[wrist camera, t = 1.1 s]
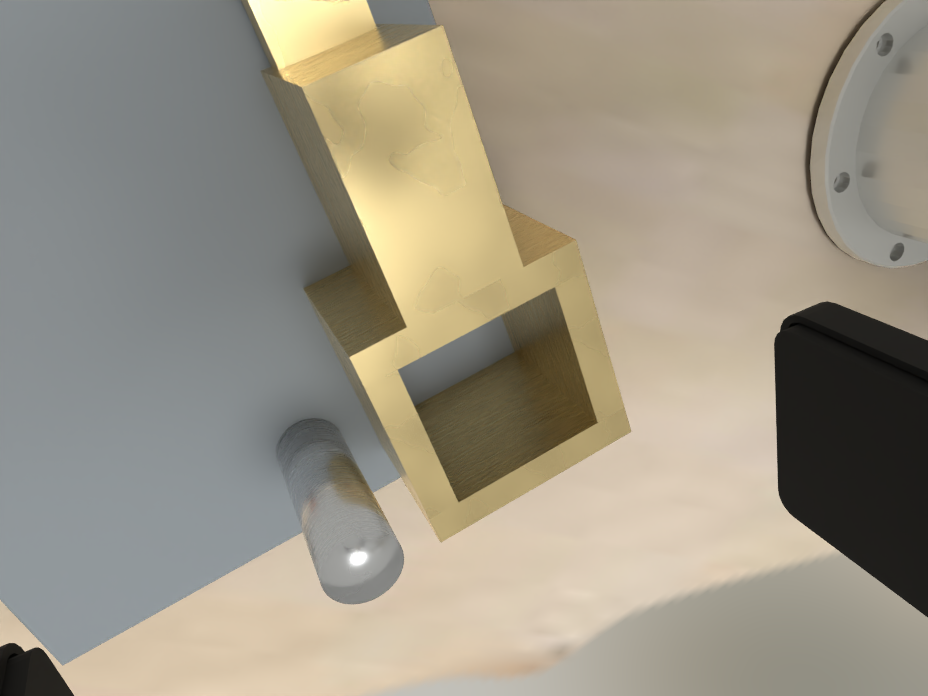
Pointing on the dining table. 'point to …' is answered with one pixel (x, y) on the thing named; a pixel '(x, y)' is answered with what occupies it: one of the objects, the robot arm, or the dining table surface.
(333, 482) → the cylinder
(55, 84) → the base plate
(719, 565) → the dining table surface
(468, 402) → the link
